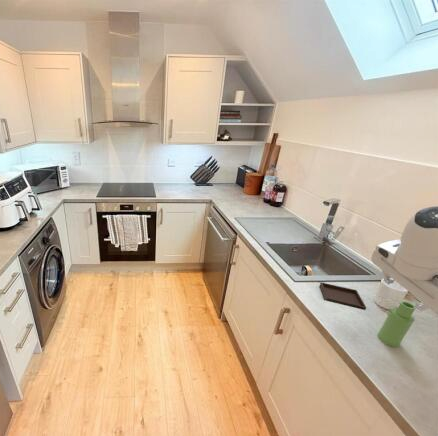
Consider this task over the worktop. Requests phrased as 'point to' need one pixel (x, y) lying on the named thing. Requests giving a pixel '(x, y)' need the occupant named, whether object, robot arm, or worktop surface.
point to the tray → (342, 296)
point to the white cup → (390, 295)
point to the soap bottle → (397, 324)
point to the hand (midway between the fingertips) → (403, 294)
